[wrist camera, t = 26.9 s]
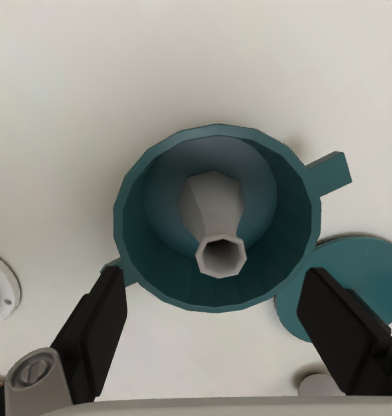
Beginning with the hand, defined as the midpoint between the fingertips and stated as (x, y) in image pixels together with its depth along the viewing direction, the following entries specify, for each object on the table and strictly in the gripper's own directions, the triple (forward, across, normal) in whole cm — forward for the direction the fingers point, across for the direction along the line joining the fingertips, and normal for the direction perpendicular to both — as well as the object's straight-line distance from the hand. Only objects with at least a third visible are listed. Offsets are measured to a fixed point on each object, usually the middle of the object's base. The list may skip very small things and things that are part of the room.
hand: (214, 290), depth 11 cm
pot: (+13, -1, 0) cm, 13 cm away
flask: (+13, -1, 0) cm, 13 cm away
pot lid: (+12, -18, +11) cm, 24 cm away
